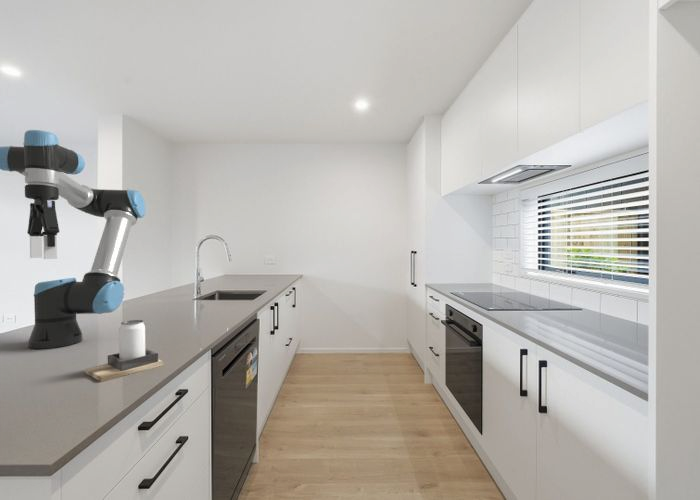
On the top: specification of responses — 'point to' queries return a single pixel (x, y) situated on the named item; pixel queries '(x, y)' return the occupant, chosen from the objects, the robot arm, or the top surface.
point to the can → (131, 339)
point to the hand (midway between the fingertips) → (43, 258)
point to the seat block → (124, 366)
